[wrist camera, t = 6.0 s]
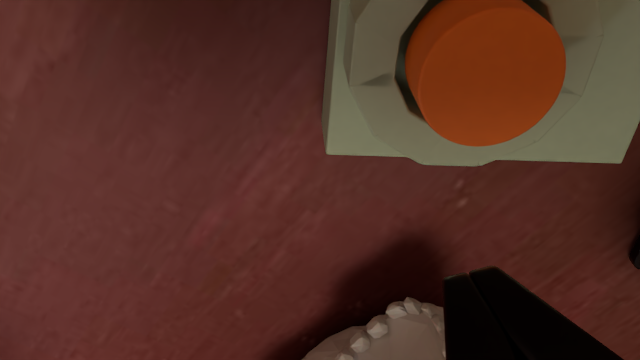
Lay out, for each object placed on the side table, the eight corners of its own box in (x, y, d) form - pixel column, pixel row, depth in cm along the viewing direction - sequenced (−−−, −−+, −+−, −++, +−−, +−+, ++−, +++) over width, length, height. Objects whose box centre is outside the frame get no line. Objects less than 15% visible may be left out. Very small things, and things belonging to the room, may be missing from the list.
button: (556, -9, 14) (589, 12, 12) (518, 118, 16) (542, 150, 14) (416, -18, 14) (432, 3, 12) (395, 114, 16) (406, 145, 14)
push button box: (683, -111, 16) (786, -91, 13) (590, 131, 21) (649, 193, 17) (342, -137, 15) (359, -123, 12) (321, 121, 20) (329, 185, 16)
